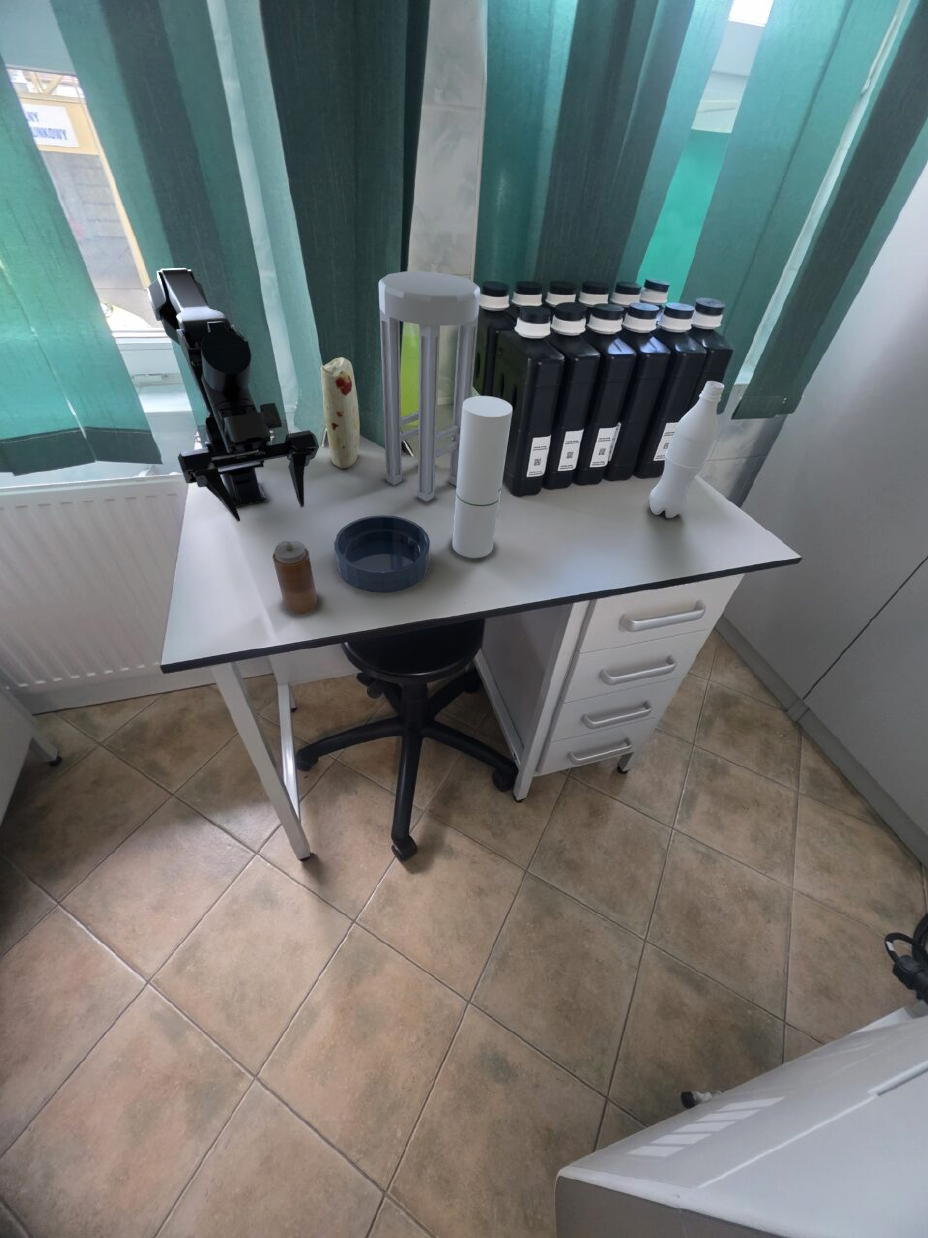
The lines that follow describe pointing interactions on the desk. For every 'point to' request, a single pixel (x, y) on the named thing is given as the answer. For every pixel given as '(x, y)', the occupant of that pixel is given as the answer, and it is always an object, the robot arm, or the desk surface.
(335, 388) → the food model
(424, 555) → the bowl
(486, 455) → the cylindrical container
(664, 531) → the desk surface
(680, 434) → the water bottle
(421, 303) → the stool
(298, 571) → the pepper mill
